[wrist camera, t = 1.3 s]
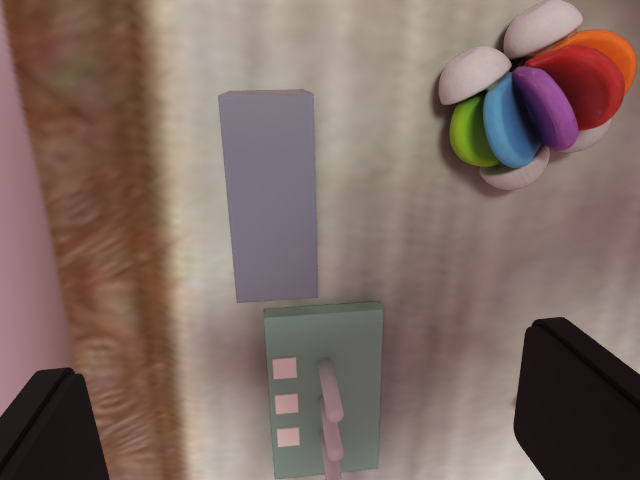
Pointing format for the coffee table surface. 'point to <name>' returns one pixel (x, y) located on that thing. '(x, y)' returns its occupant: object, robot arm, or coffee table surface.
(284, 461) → the panel
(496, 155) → the rainbow disc toy
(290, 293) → the block
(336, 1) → the coffee table surface
